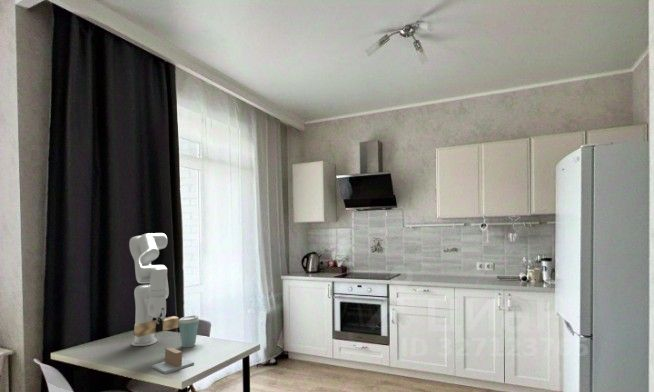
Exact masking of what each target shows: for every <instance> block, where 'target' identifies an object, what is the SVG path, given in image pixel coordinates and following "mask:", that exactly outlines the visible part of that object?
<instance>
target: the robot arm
mask: <svg viewBox="0 0 654 392" xmlns="http://www.w3.org/2000/svg"><path fill="white" fill-rule="evenodd" d="M128 243H129V245H128V246H129V251H130V254H131V256H132V259H133V261H134V270H135V271H134V273H135V280H136V281H137V283H138V284H140V285H137V286H136V287H135V288H134V292H133V295H134V302H135V318H134V319H135V320H134V322H135V324H140V323H144V322H149V321H154V320H157V324H156V332H158V333H160V332H161V331H162V332H164V331H163V321H164V320H165V318H166V314H167V300H166V299H168V297H169V296H170V295H169V294H170V292H169V291H170V290H169V282H168V268H167V266H166V265H164V264H152V262H153V261H155V260H156V259H157V258H159V255H160V250H162V249H165V248H166V247H167V245H168V237H167V235H166V234H165V233H163V232H155V233H153V232H151V233H150V232H148V233H144V234H141V235H136V236H132V237H131V238H130V239H129V242H128ZM135 324H134V325H135ZM162 332H161V333H162ZM157 341H158V339H157V337H155V333H153V334H149V335H145V336H141V337H136V336H134V340H132V341H131V346H133V347H146V346H150V345H153V344H156V343H157Z"/></svg>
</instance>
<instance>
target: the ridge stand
mask: <svg viewBox="0 0 654 392" xmlns="http://www.w3.org/2000/svg"><path fill="white" fill-rule="evenodd" d="M164 356H165V357H164V361H162V362H157V363H155V364H154V363H153V364H152V365H151V368H152V369H154V370H157V371H159V372H160V373H162V374H165V375H166V374H169V373H172V372H175V371H179V370H181V369H185V368H189V367H191V366H195V362H194V361H193V360H190V359H187V358H186V357H183V351H182V350H178V349H177V348H173V347H167V348H165V349H164Z"/></svg>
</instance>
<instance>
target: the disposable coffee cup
mask: <svg viewBox="0 0 654 392" xmlns="http://www.w3.org/2000/svg"><path fill="white" fill-rule="evenodd" d="M199 321H200V318H199V315H197V314H196V315H188V316H184V317H180V318H179V322H178V328H179V329H178V330H179V334H180V342H181V347H182V348H190V347H192V348H193V347H194V346H195V345H196V340H197V336H198V329H199Z"/></svg>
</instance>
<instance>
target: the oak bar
mask: <svg viewBox="0 0 654 392" xmlns="http://www.w3.org/2000/svg"><path fill="white" fill-rule="evenodd" d="M179 320H180V318H179V317H178V316H175V315H172V316H168V317H165V320H164V321H163V331H161V333H162V332H165V331H169V330H174V329H178V328H179ZM156 324H157V320H154V321H149V322H144V323H140V324H134V325H133V326H134V328H133V331H134V332H133V336H134V337H135V336H136V337H141V336H145V335H149V334H153V333H154V334H157V333H159V332H156Z"/></svg>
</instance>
